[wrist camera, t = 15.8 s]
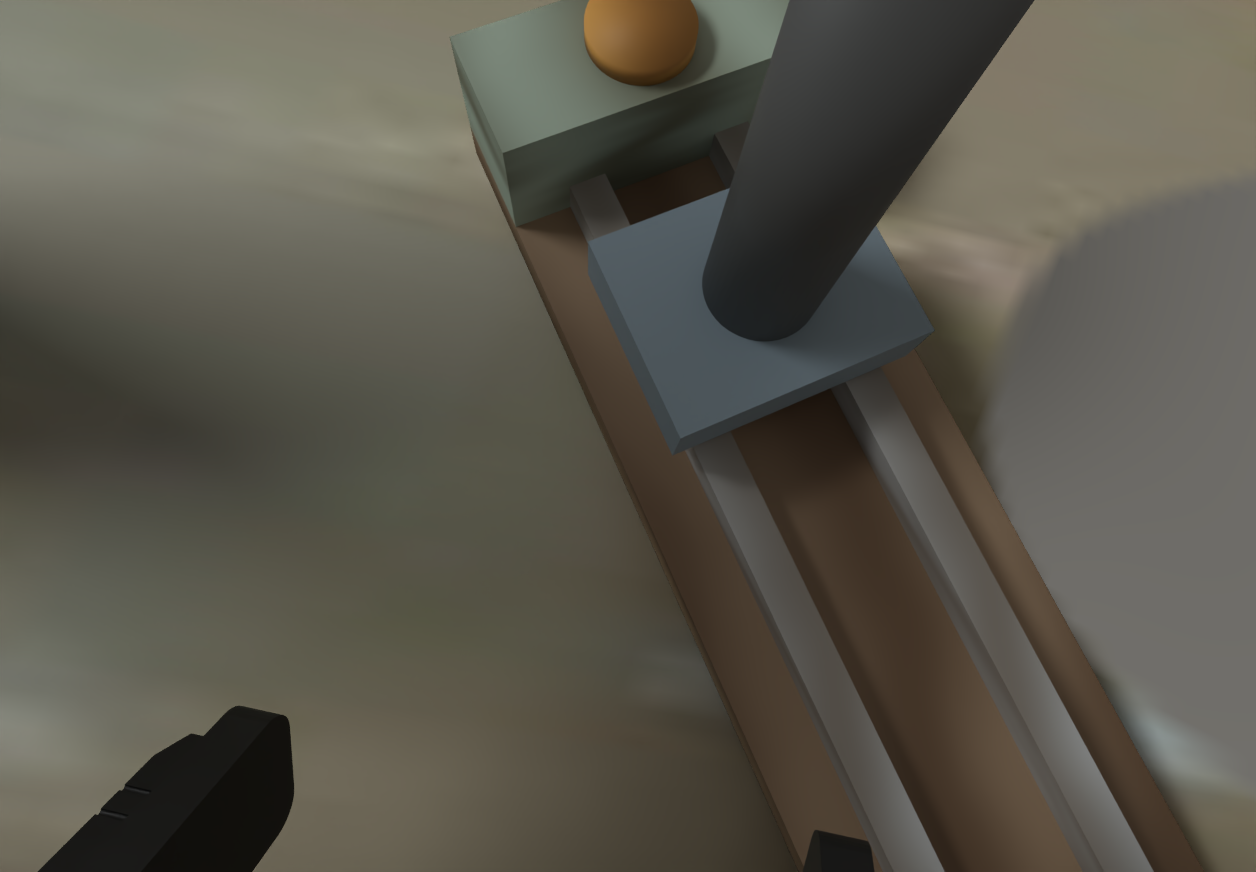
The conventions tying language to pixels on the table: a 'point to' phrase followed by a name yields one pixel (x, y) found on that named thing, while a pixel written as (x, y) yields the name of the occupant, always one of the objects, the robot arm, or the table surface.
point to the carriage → (798, 219)
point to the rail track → (809, 494)
